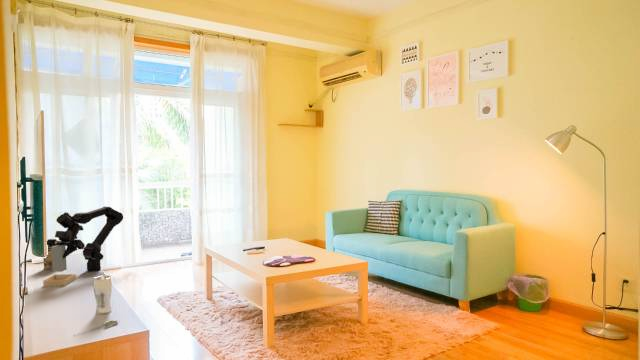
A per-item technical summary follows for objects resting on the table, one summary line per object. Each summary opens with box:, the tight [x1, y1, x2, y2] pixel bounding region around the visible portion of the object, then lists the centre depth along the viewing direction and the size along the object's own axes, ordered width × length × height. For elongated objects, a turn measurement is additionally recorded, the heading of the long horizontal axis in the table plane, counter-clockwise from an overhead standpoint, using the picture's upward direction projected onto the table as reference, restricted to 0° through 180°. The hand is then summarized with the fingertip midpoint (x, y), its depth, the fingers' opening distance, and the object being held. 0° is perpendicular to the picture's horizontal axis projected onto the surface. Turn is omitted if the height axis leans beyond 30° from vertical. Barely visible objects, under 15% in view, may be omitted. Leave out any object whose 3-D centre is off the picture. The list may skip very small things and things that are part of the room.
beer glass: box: [93, 275, 113, 315], centre depth 187 cm, size 7×7×15 cm
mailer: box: [42, 273, 81, 287], centre depth 231 cm, size 11×17×3 cm, turn 4°
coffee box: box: [42, 240, 61, 270], centre depth 256 cm, size 9×6×16 cm
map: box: [73, 320, 118, 337], centre depth 167 cm, size 5×20×1 cm, turn 149°
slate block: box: [51, 245, 68, 273], centre depth 227 cm, size 5×4×13 cm
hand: (58, 257), depth 227 cm, fingers closed on slate block, 5 cm apart
